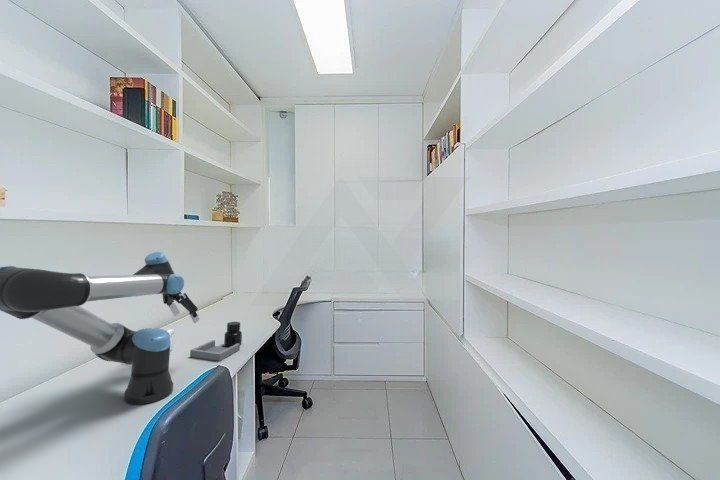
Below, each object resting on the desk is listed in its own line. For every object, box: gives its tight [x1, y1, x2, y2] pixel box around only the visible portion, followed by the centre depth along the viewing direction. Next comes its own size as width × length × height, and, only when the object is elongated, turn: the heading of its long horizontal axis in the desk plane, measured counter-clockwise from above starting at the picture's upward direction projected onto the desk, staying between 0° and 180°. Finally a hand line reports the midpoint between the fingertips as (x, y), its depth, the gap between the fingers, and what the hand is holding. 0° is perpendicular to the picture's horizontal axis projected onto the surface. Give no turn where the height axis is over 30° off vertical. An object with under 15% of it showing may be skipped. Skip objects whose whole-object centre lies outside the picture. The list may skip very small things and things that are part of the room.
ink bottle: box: [223, 321, 243, 348], centre depth 171 cm, size 10×9×12 cm
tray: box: [189, 339, 241, 363], centre depth 157 cm, size 16×16×4 cm
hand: (186, 317), depth 149 cm, fingers open, 13 cm apart
